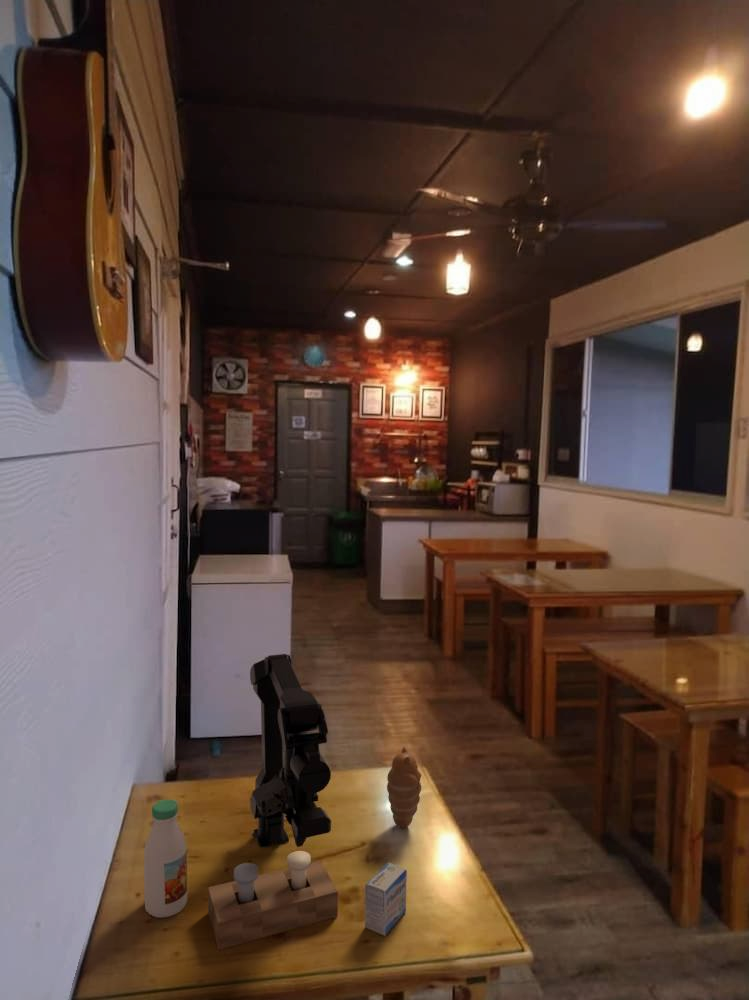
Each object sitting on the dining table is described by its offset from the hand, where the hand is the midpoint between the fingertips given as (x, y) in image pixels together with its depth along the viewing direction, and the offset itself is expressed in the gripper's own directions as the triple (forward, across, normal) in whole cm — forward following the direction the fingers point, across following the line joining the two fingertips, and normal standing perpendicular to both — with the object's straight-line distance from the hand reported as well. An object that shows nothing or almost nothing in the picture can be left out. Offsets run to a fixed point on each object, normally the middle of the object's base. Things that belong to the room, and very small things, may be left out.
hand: (299, 845), depth 129 cm
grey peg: (+8, 0, -10) cm, 13 cm away
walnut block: (+12, 0, -5) cm, 13 cm away
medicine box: (+13, +9, +14) cm, 21 cm away
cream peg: (+8, 0, 0) cm, 8 cm away
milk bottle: (+13, -10, -23) cm, 28 cm away
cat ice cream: (+13, -17, +30) cm, 37 cm away
